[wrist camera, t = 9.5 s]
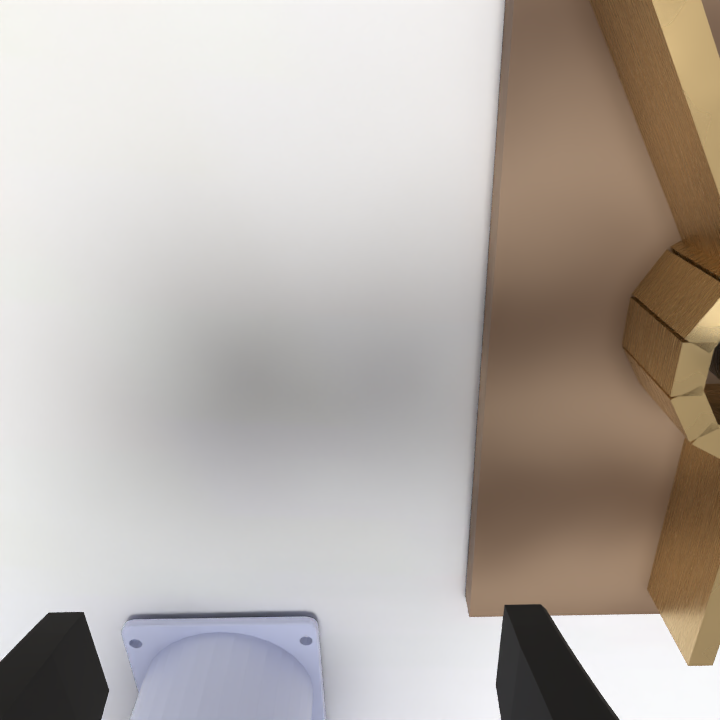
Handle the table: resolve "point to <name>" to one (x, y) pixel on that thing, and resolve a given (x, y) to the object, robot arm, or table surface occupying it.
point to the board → (568, 333)
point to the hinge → (679, 292)
